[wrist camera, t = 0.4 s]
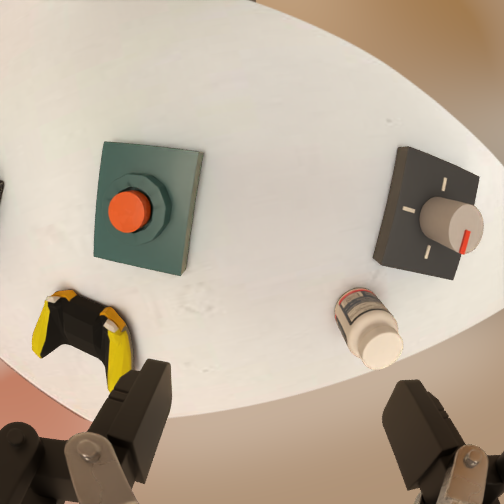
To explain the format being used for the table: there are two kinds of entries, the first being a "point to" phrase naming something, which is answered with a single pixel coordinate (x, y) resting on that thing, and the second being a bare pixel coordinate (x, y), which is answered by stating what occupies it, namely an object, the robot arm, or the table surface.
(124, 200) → the button
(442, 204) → the program dial
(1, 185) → the small box
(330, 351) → the table surface
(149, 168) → the button block
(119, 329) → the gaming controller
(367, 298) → the pill bottle
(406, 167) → the dial panel
